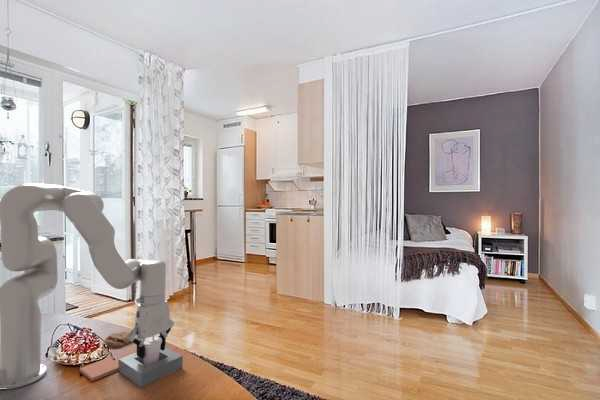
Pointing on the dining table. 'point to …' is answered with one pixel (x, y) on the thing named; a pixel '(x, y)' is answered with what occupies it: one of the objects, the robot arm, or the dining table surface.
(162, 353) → the box
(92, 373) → the pad
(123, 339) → the cookie
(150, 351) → the smoothie
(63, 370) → the dining table surface
